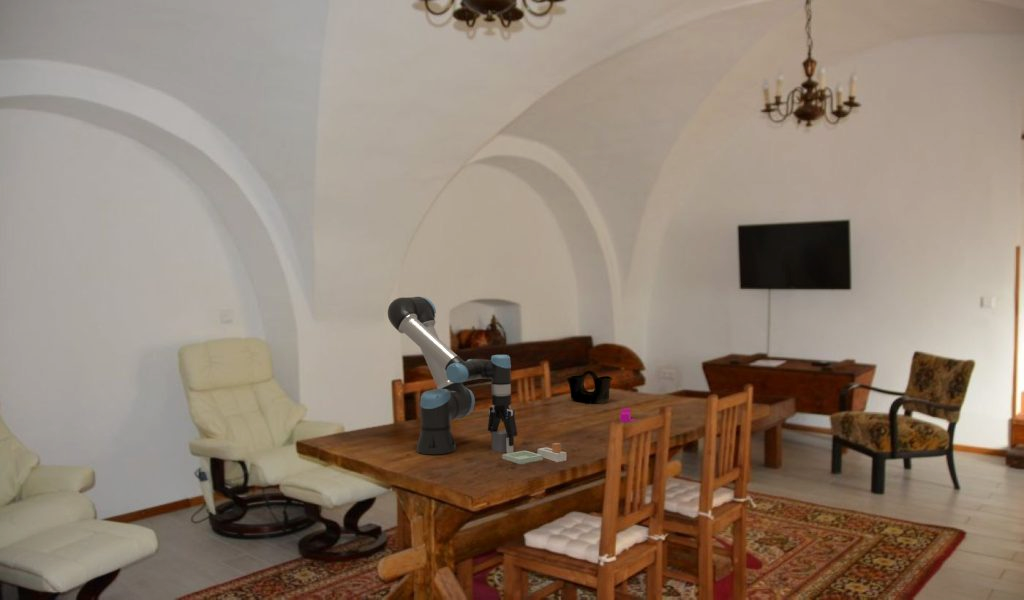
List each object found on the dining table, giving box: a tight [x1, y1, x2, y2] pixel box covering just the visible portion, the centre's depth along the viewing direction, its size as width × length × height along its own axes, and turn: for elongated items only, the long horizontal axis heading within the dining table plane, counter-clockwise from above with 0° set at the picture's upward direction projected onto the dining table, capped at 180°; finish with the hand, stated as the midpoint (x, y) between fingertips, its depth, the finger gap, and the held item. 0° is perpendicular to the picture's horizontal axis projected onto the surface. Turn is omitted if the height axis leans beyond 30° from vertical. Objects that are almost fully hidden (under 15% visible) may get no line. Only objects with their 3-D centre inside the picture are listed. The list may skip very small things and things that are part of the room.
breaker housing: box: [536, 447, 567, 463], centre depth 293 cm, size 4×12×3 cm, turn 36°
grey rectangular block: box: [490, 429, 507, 454], centre depth 305 cm, size 6×6×8 cm
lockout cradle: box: [501, 450, 544, 466], centre depth 291 cm, size 11×11×2 cm
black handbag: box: [566, 370, 613, 405], centre depth 405 cm, size 25×11×20 cm, turn 59°
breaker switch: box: [551, 442, 562, 453], centre depth 290 cm, size 2×2×3 cm
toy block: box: [620, 408, 636, 423], centre depth 353 cm, size 15×6×8 cm, turn 169°
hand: (502, 451), depth 305 cm, fingers open, 9 cm apart
